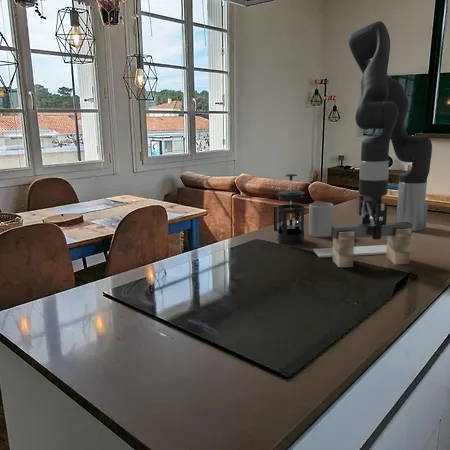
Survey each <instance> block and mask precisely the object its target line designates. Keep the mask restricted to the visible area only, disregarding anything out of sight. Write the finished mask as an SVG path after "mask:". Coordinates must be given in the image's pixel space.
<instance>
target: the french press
mask: <svg viewBox="0 0 450 450" xmlns="http://www.w3.org/2000/svg"><path fill="white" fill-rule="evenodd" d="M297 176H298V174H295V173H288V174H285V175H284V177H288V179H289V182H290V187H289V188H290V189H289V190H281V191H278V192H277V195H278V200H279V201H283V202H290V203H289V204H281V205H280V204H279V205H275V206H274V205H273V231H274V232H277V242H278V243H279V244H282V245H288V246H294V245H301V244H304V243H305V242H306V240H305V205H303V204H302V205H301V204H293V203H292V202H294V201H296V200H297V199H298V198H302V199H303V198H304V195H305V192H304V191H302V190H296V189H295V190H293V189H292V181H293V177H297ZM288 214H289V215H290V216H289V217H290V219H288ZM292 214H294V219H293V218H292V217H293V216H292Z"/></svg>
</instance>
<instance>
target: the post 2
mask: <svg viewBox="0 0 450 450" xmlns="http://www.w3.org/2000/svg"><path fill="white" fill-rule="evenodd" d="M411 230H412V229H410V228H407V229H396V232H395V236H386V239H387V240H386V245H387V253H386V254H385V255H386V259H387V260H388V261H390V262H392V263H393V264H394V265H410V258H411V257H410V256H411V243H412V242H411V241H412V235H411Z"/></svg>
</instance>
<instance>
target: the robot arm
mask: <svg viewBox="0 0 450 450" xmlns="http://www.w3.org/2000/svg"><path fill="white" fill-rule="evenodd" d="M348 46H349V48H350V52H351V54H352V57H353V58H354V59H355V60H354V61H355V62H356V64H357V66H358V67H359V70H360V71H361V73H362V77H361V82H360V86H361V87H360V89H361V91H360V92H361V97H360V101H359V104H358V106H357V109H356V112H355V116H354V119H355V123H356V124H355V125H356V126H357V127H359V129H362V130H377V129H378V130H380V129H381V130H382V131H381V132H380V134H378V135H376V136H374V137H370V138H365V139H363V140H362V142H361V150H360V164H359V166H360V167H359V176H358V177H359V178H358V179H359V180H358V194H359V197H358V198H359V202H358V203H359V206H358V216H360V218H361V224H373V231H372V237H371V238H372V239H373V240H374V241H376V240H381V239H382V236H381V230H382V226H383V225H386V223H387V216H388V203H386V202H383V201H382V199H383V198H382V197H383V196H384V197H385V196H386V195H388V191H389V188H388V187H389V171H390V170H389V168H390V167H389V157H390V156H389V153H390V152H389V151H390V144H392V147H393V152H394V153H395V155H396V158H397V159H398V160H399V161H401V162H404V163H412V165H411V168H410V169H409V170H407V171H403V172H401V173H400V174H399V175H398V190H397V207H396V222H409V223H411V224H413V228H412V232H420V231H423V230H427V219H428V218H427V217H428V206H429V204H428V203H427V202H426V201H427V200H426V197H427V184H428V177H429V174H430V170H431V159H432V153H433V145H432V144H433V143H432V139H431V138H430V137H428V136H426V135H425V136H424V135H410V134H409V133H408V131H407V128H406V126H405V122H406V118H407V114H408V111H409V99H408V96H407V94H406V91H405V89H404V86H403V85H402V84H401V83H400V82H399V81H398V80H396V79H395V78H393V77H392V76H390V75H388V69H389V68H388V67H389V63H390V62H389V61H390V54H391V53H390V52H391V38H390V32H389V30H388V28H387V26H386V25H385V23H384V22H382V21H380V20H379V21H376V22H372V23H371V24H368V25H366V26H364V27H362V28H361V29H358V30H357V31H355V32H354V31H353V33H351V34H350V35H349V36H348ZM370 59H371V60H370Z"/></svg>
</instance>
